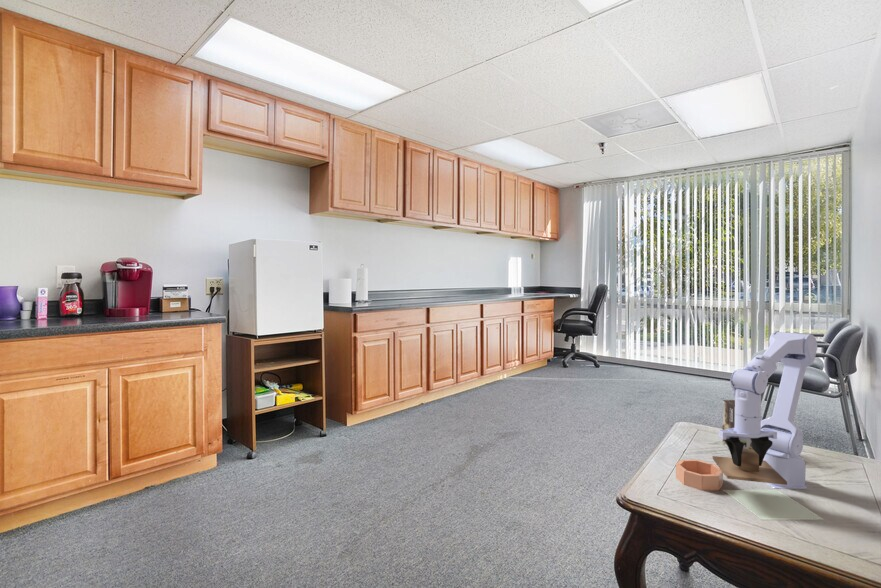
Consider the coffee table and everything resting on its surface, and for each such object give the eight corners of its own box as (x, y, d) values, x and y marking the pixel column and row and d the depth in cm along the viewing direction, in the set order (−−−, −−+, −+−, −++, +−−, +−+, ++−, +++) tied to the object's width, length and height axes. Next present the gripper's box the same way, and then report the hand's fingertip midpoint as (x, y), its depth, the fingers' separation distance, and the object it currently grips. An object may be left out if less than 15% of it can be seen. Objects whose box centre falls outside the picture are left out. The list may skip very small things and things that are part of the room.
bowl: (706, 473, 133) (706, 459, 133) (730, 491, 122) (730, 475, 122) (670, 474, 133) (670, 459, 133) (690, 492, 122) (690, 476, 122)
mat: (777, 491, 122) (777, 489, 122) (823, 521, 107) (823, 519, 107) (723, 491, 122) (723, 490, 122) (761, 521, 107) (761, 519, 107)
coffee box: (754, 455, 146) (755, 407, 146) (733, 454, 147) (733, 406, 147) (741, 444, 155) (742, 399, 154) (721, 443, 156) (722, 399, 156)
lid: (765, 463, 122) (765, 444, 122) (786, 484, 110) (787, 464, 110) (712, 458, 126) (712, 440, 126) (727, 478, 114) (727, 458, 114)
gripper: (763, 409, 122) (763, 457, 122) (711, 410, 122) (711, 458, 122) (783, 417, 115) (782, 469, 115) (728, 418, 115) (727, 469, 115)
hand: (747, 464), depth 118 cm, fingers closed on lid, 5 cm apart
